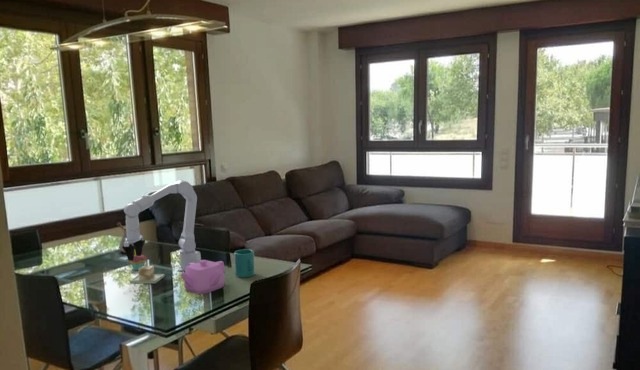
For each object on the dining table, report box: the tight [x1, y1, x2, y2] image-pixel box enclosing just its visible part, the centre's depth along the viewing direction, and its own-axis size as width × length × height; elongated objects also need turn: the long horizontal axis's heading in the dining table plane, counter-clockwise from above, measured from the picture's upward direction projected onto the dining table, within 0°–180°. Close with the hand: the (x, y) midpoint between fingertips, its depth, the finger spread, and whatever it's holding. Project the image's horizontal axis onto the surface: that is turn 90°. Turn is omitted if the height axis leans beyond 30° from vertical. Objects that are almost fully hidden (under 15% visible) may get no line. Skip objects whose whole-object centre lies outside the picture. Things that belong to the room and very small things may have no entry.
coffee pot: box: [117, 221, 134, 254], centre depth 273 cm, size 21×12×15 cm, turn 42°
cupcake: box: [128, 250, 148, 271], centre depth 235 cm, size 9×8×12 cm
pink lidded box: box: [180, 259, 226, 296], centre depth 204 cm, size 17×17×12 cm
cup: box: [233, 248, 256, 279], centre depth 220 cm, size 9×12×11 cm
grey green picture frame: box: [129, 273, 166, 284], centre depth 218 cm, size 12×10×1 cm
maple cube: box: [137, 265, 155, 280], centre depth 218 cm, size 5×5×5 cm
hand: (134, 257), depth 220 cm, fingers open, 7 cm apart
